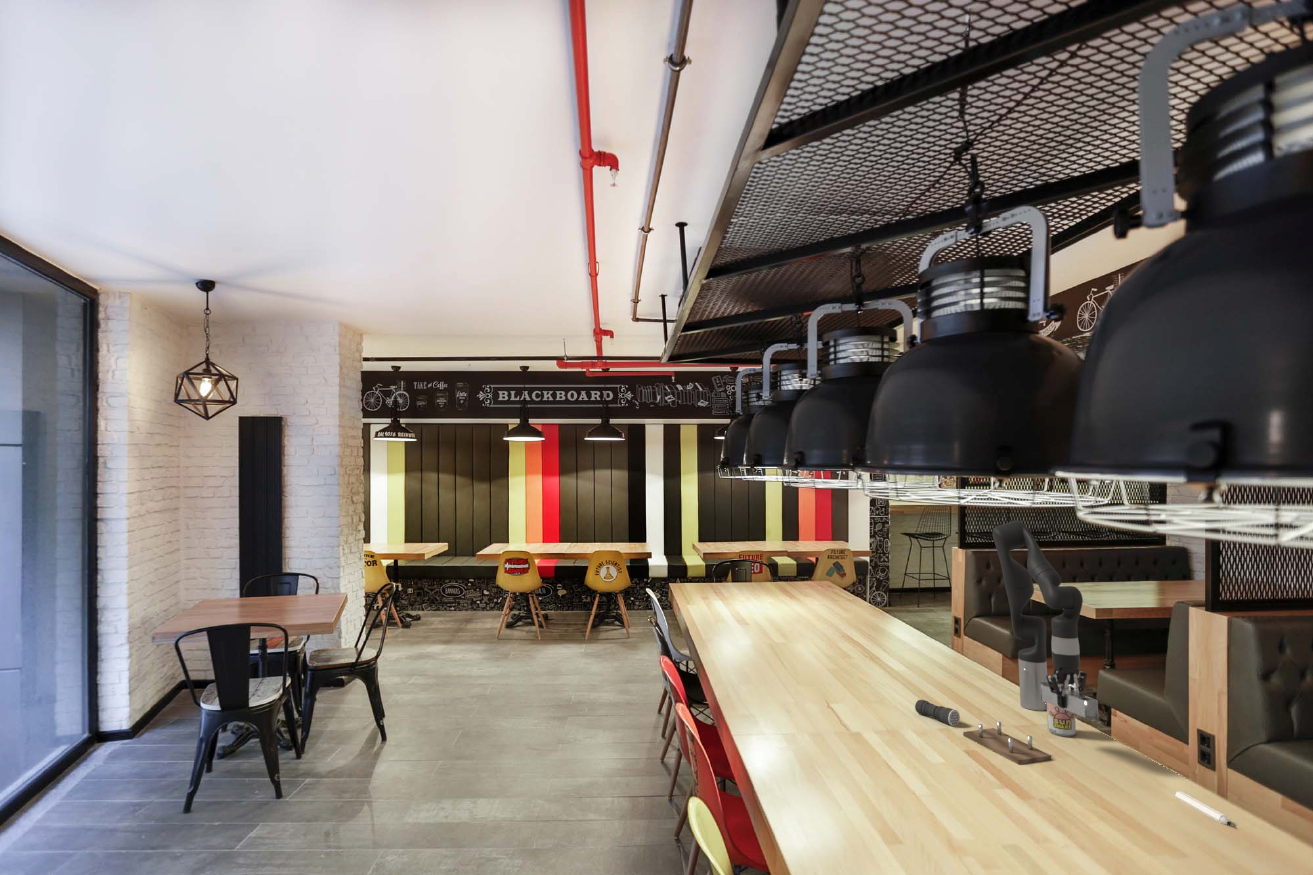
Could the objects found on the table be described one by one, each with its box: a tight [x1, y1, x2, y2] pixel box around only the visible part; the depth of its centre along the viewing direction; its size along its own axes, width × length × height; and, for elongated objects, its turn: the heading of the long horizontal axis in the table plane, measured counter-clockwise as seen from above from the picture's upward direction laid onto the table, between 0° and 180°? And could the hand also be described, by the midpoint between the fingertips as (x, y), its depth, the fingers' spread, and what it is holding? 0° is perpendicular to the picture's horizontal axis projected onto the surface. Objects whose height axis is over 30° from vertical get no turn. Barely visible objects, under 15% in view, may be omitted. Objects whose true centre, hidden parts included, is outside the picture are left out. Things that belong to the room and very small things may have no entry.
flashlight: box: [914, 699, 961, 727], centre depth 247 cm, size 15×5×5 cm, turn 29°
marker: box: [1174, 790, 1234, 827], centre depth 177 cm, size 3×2×16 cm
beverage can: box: [1046, 703, 1077, 738], centre depth 232 cm, size 9×8×12 cm
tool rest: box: [962, 721, 1052, 765], centre depth 221 cm, size 12×24×5 cm, turn 15°
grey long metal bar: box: [1040, 682, 1099, 720], centre depth 216 cm, size 4×20×5 cm, turn 15°
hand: (1068, 706), depth 216 cm, fingers closed on grey long metal bar, 4 cm apart
